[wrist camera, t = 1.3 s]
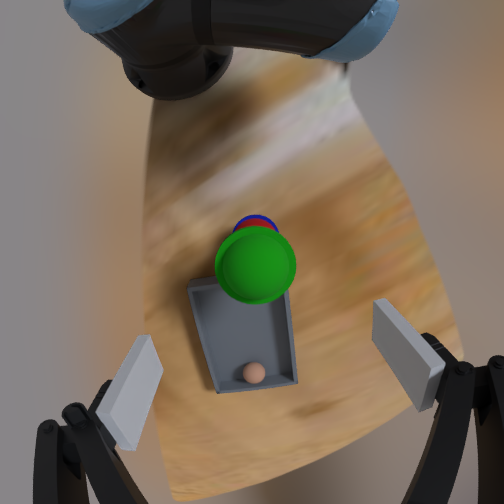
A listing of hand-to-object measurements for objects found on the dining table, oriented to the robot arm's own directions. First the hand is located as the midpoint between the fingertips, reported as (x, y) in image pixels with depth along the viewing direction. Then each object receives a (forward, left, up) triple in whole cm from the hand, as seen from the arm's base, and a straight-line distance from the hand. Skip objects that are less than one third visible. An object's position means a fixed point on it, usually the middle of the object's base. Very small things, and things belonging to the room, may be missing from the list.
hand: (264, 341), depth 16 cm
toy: (0, 0, -25) cm, 25 cm away
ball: (+20, -3, -24) cm, 31 cm away
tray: (+14, -3, -24) cm, 28 cm away
